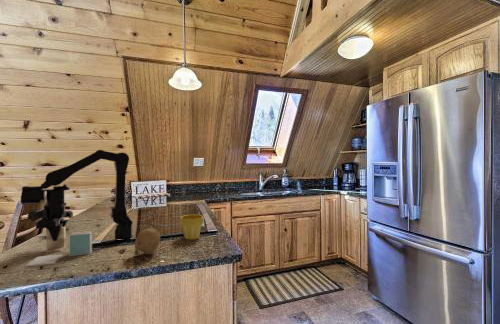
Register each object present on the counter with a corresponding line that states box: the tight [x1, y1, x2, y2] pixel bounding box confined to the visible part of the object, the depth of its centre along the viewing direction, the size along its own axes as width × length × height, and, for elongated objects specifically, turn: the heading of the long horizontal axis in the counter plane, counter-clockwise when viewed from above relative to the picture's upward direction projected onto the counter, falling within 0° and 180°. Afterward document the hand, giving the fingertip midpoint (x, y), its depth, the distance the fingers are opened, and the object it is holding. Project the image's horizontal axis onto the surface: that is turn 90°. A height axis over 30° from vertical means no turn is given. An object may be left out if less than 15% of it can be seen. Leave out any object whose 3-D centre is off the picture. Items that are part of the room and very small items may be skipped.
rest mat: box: [25, 253, 64, 268], centre depth 91 cm, size 8×8×1 cm
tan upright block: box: [45, 226, 67, 254], centre depth 102 cm, size 6×5×9 cm
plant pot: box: [180, 214, 204, 240], centre depth 117 cm, size 10×10×10 cm
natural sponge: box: [134, 228, 161, 256], centre depth 97 cm, size 9×9×10 cm
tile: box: [68, 231, 93, 257], centre depth 98 cm, size 7×2×8 cm, turn 108°
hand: (56, 239), depth 102 cm, fingers closed on tan upright block
